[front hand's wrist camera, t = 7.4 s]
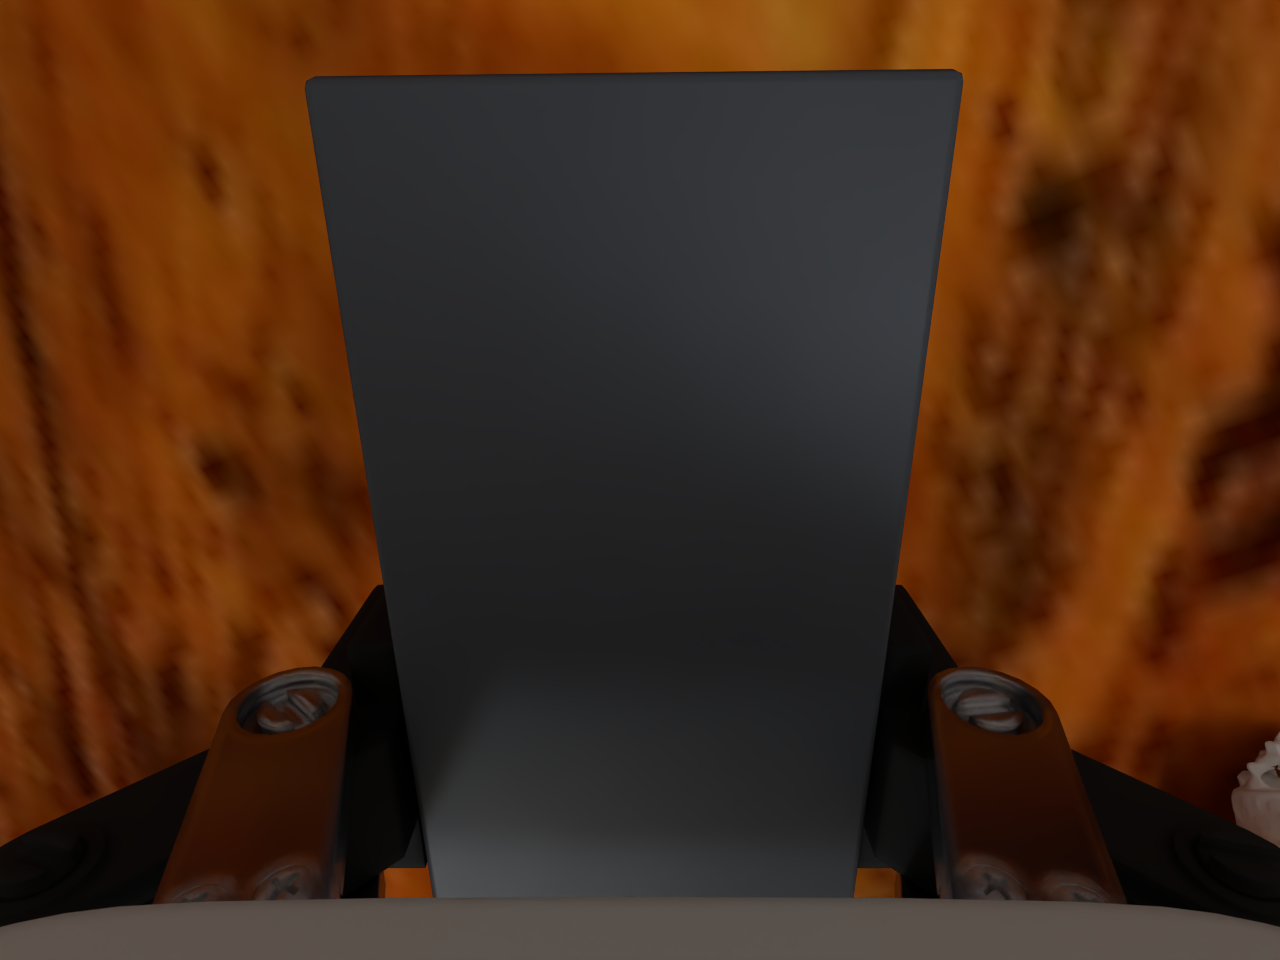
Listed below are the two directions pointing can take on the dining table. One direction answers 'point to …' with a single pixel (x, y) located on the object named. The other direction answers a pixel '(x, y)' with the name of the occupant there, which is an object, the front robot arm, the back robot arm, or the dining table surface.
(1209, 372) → the dining table surface
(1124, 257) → the dining table surface
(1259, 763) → the white irregular piece
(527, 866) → the post
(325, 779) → the front robot arm
